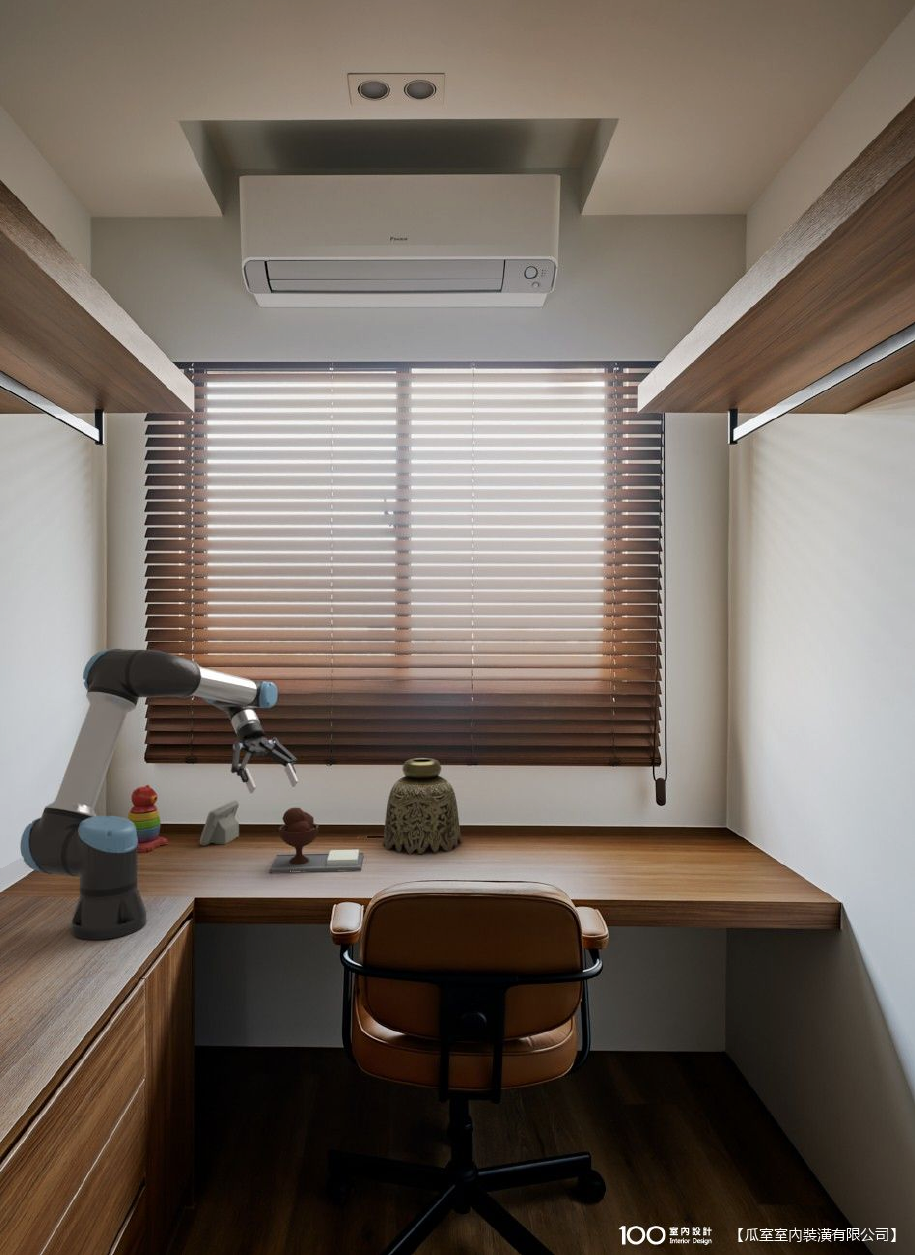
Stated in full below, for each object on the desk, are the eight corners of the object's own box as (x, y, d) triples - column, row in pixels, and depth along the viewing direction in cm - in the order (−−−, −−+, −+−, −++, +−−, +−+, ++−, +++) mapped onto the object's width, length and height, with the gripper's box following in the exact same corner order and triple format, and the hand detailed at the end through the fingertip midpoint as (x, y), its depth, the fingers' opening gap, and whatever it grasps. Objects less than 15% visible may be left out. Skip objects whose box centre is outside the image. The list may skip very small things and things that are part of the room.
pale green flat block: (327, 866, 215) (327, 860, 215) (330, 855, 225) (330, 849, 225) (357, 865, 216) (357, 859, 216) (359, 854, 226) (359, 848, 226)
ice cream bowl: (311, 868, 214) (310, 812, 213) (272, 866, 216) (271, 810, 215) (325, 857, 224) (325, 803, 224) (287, 854, 226) (287, 801, 226)
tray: (269, 872, 213) (269, 868, 213) (277, 858, 226) (277, 854, 226) (360, 870, 215) (360, 866, 214) (363, 856, 227) (363, 852, 227)
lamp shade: (454, 856, 227) (453, 768, 226) (374, 853, 230) (374, 766, 230) (466, 834, 250) (465, 754, 249) (394, 831, 253) (393, 752, 253)
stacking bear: (146, 853, 231) (145, 791, 231) (117, 850, 234) (117, 789, 234) (171, 843, 241) (170, 784, 241) (143, 840, 245) (142, 781, 244)
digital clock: (226, 831, 254) (225, 798, 254) (249, 834, 250) (249, 800, 250) (190, 845, 239) (190, 809, 239) (214, 848, 235) (214, 812, 235)
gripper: (280, 733, 249) (307, 789, 238) (204, 741, 232) (229, 801, 221) (289, 717, 245) (317, 773, 234) (213, 724, 228) (239, 784, 217)
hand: (274, 787), depth 227 cm, fingers open, 13 cm apart
